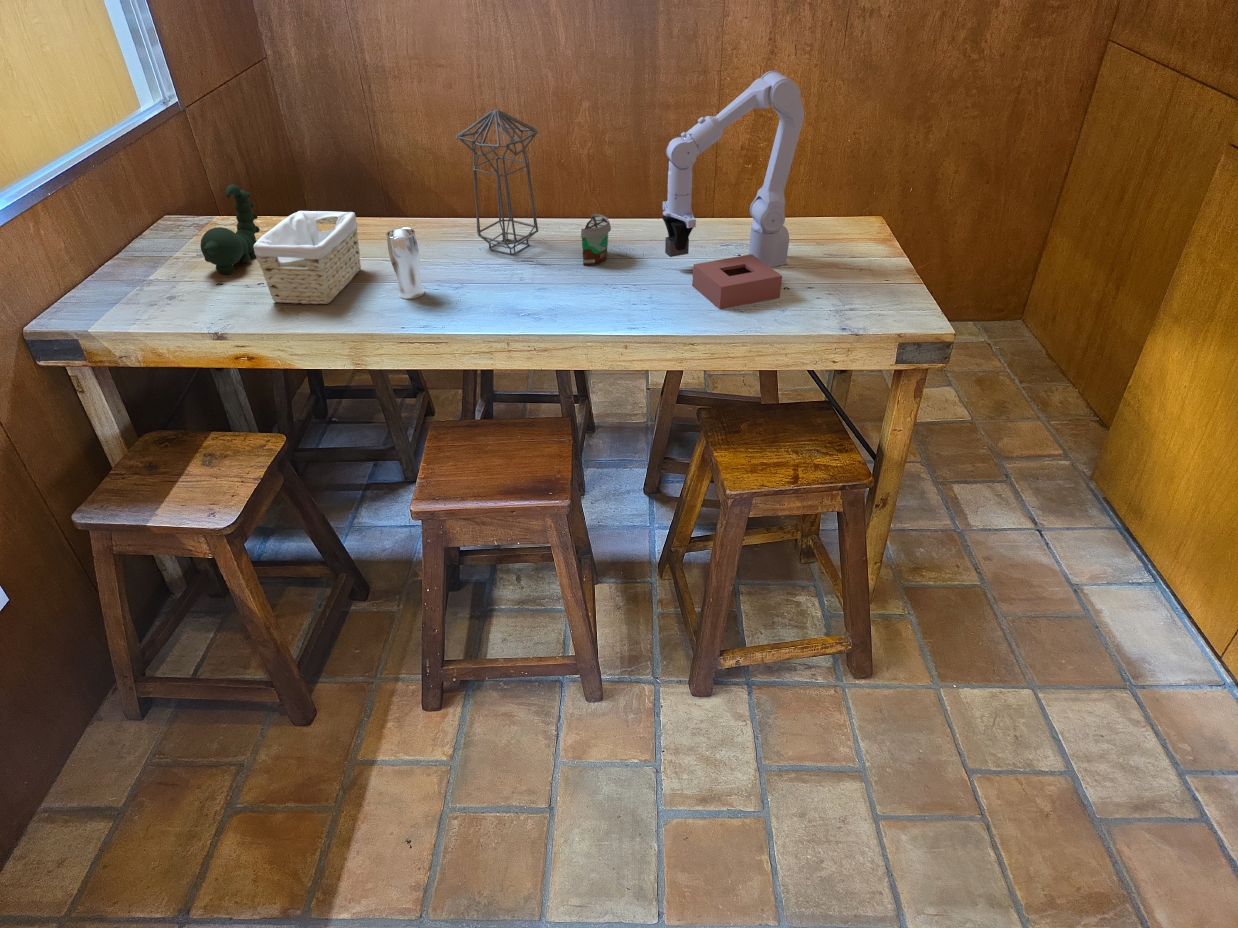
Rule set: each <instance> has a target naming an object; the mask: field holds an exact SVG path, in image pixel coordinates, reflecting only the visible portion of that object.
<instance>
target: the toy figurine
mask: <svg viewBox="0 0 1238 928" xmlns="http://www.w3.org/2000/svg"><path fill="white" fill-rule="evenodd" d="M231 195H233V199H234V200H235V202H234V209H235V210H236V214H235V218H236V220H237V223H236V231H235V232H234V231H233V230H231V229H229V228H226V227H220V226H219V227H213V228H210V229H208V230H207V231H205V233H204V234H203V235H202V237H201V239H200V244H199V245H200V250H201V251H200V252H201V253H202V255H203V257H204V260H205V262H207V263H211V264H212V265H215V270H216V271H217V272H218V273H219V274H221V275H230V274H232V273H234V271H235V266H234V265H235V264H237V263H238V262H239V261H240V262H242V263H243V264H248V263H249V262H250V261H251V259H254V257H255V258H257V256H256V255H255V252H254V247H253V246H254V244H255V243H256V242H257V241H258V240H257V239H256V235H255V234H257V233H259V232H260V227H259V226H257V225H256V224H255V222H254V221H255V220H257V219H258V215H257V213H253V212H252V209H253V208H255V204H254V202H252V201H249V198H251V196H252V195H251V193H250V192H247V191H246V190H244V189H241V188H240V186H238V185H236V184H232V183H231V184H228V185H227V186H226V188H225V196H226V198H227V199H230V198H231Z"/></svg>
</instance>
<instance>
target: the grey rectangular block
mask: <svg viewBox="0 0 1238 928" xmlns="http://www.w3.org/2000/svg"><path fill="white" fill-rule="evenodd" d="M664 240H665V241H664V243H665V245H664V246H665V247H664V252H665V254H666V255H667V256H669V258H672V257H678V256H684V255H689V250H690V249H689V247H690V245H689V244H690V238H688V241H687V244H686V247H685V249H683V250H677V249H676V243H675V236H671V237H669V236H666V237H665V239H664Z"/></svg>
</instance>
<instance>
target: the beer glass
mask: <svg viewBox="0 0 1238 928" xmlns="http://www.w3.org/2000/svg"><path fill="white" fill-rule="evenodd" d="M385 235H386V236H385V238H386V246H387V252H388V255H389V256H388V257H389V260H390V263H391V266H392V269H393V272H394V274H395V277H396V280H397V284H398V285H397V290H398V291H397V295H398V297H400V298H401V299H405V300H413V299H417V298H420V297H422V296H423V295H424V294H425V290H424V287H423V283H422V281H421V254H420V247H419V242H418V238H417V234H416V230H415V229H413V228H410V227H396V228H392V229H390V230H387V232H386V233H385Z"/></svg>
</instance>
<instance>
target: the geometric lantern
mask: <svg viewBox="0 0 1238 928" xmlns="http://www.w3.org/2000/svg"><path fill="white" fill-rule="evenodd" d="M492 124H493V125H494V124H495V132H496V141H497V142H496V143H497V144H490V143H488V142H487V141H486V140H487V138H488V136H489V131H490V130H491V127H492ZM516 124H517V125H516ZM478 125H479V126H478ZM518 125H520V126H522V128H521V127H519V126H518ZM476 126H478V127H476ZM475 127H476V129H475V130H474V131H473V132H469V131H471V130H472V129H474V128H475ZM523 127H524V128H523ZM499 128H500V130H501V134H502V137H503V138H502V139H503V142H504V143H503V144H504V145H501V141H500V133H499ZM509 130H512V134H511V133H510V131H509ZM516 130H518V131H519V132H520V134H519V133H518V132H517V131H516ZM467 132H468V133H467ZM484 132H485V133H484ZM524 132H530V133H529V134H527V135H526V136H525V137H524V138H523V135H524V134H523V133H524ZM483 133H484V135H483ZM504 133H505V134H506V136H508V138H509V141H508V143H507V142H506V138H505V134H504ZM538 133H539V131H538V129H537V128H536V127H533V126H531V125H530V124H528V123H525V122H524V121H522V120H520V119H517V118H515V117H514V116H512V115H509V114H507V113H506V112H504V111H502V110H500V109H491V110H490V111H489V112H487V113H486V114H485V115H483V116H482V117H481V118H479V119H478V120H476V121H475V122H473V124H471V125H470V126H468V127H467V128H466V129H464V130H463V131H461V132H460V133H459V134H457V135H455V139H456V140H459V141H460V142H461V143H463V145H464V146H465V147H467V148H468V149H469V150H470V151H471V152H472V153H473V158H472V159H473V162H472V163H473V168H472V173H473V186H474V197H475V198H474V199H475V212H476V215H475V216H476V234H477V236H478V237H479V238H481V240H483V241H485V242H486V243H488V250H489V251H491V252H495V253H500V254H505V255H509V256H514V255H516V254H518V253H520V252H522V251H523V250H525V249H527V248H528V247H530V242H529V239H530V238H532V236H534V235H535V234H536V233H539V226H538V225H539V224H538V220H537V214H536V208H535V200H534V196H533V188H532V187H533V186H532V178H531V168H530V164H531V163H530V161H529V158H528V155H527V152H526V148H527V147H528V146H529V145H530V143H532V140H533V139H534V138H535V137H536V136H537V134H538ZM475 135H476V136H475ZM515 135H516V136H517V138H518V139H516V138H515ZM467 136H472V139H470V138H467ZM479 138H480V141H477V140H478V139H479ZM527 140H528V141H527ZM466 141H467V142H469V143H471V146H470V145H469V144H468V143H467V142H466ZM525 141H527V142H526V144H525V145H524V142H525ZM516 144H521V147H522V148H521V149H520V150H519V151H517V147H516ZM511 145H513V148H514V150H513V149H512V148H511V147H510V146H511ZM476 146H477V147H479V148H480V151H481V153H480V152H479V153H478V152H477V150H476ZM484 147H485V148H486V147H487V148H489V150H488V151H486V152H485V153H484V150H483V148H484ZM499 148H505V149H504V152H503V153H502V156H499V155H498V154H497V153H496V150H498V149H499ZM507 151H509V152H510V153H511V154H513V155H514V156H513V158H511V157H505V155H506V154H507ZM491 153H493V154H495V156H494V157H491V158H488V155H490V154H491ZM521 153H522V155H523V159H524V160H520V159H515V158H516V156H517V155H520V154H521ZM476 156H477V158H476ZM480 157H484V158H485V160H484V161H482V162H479V158H480ZM494 159H495V166H494V165H493V163H492V162H491V161H492V160H494ZM499 160H502V168H503V174H501V173H500V172H499ZM505 160H509V161H511V162H510V164H509V166H508V169H506V162H505ZM487 162H488V164H489V165H490V167H491V168H492V169H493V171H494V173H493V172H489V171H485V170H481V169H478V166H481V165H483V164H485V163H487ZM514 162H519V163H524V164H525V165H524V166H523V165H522V167H520V168H517V169H514V170H512V171H510V170H511V167H512V165H513V163H514ZM522 169H526V175H527V176H526V177H527V181H528V187H529V193H530V200H531V201H530V202H531V210H532V218H533V224H530V223H526V222H522V221H518V220H514V215H513V208H512V201H511V194H510V188H509V187H510V186H509V180H508V176H509V175H512V174H514V173H516V172H518V171H520V170H522ZM477 172H479V173H484V174H488V175H492V176H496V186H497V187H496V188H497V205H498V206H497V207H498V220H497V221H495V222H493V223H491V224H489V225H487V226H486V227H484V228H482V229H481V225H480V224H481V223H480V222H481V221H480V212H479V199H478V198H479V197H478V175H477ZM502 177H504V185H505V187H504V188H505V194H506V203H507V204H506V205H507V214H508V219H507V218H506V219H505V216H504V215H505V213H504V204H503V194H502V186H501V185H502V184H501V178H502ZM506 222H507V225H505V223H506ZM510 223H511V226H512V232H513V233H512V232H509V226H510ZM497 224H499V225H500V228H501V231H502V232H501V233H499V234H498V235H497V236H495V237H494V238H491V237H487V236H486V235H485V236H484V235H483V234H481V233H482V232H484V231H486V230H488V229H490V228H491V227H493V226H496V225H497ZM515 224H520V225H523V226H527V227H531V230H530V231H529V232H528V233H527V235H524V234H523V235H522V234H517V233H516V228H515ZM534 229H535V230H534ZM533 230H534V231H533ZM509 235H511V236H513V238H514V239H509ZM500 236H501V237H502V240H497V239H498V238H499V237H500ZM517 237H521V238H519V239H517ZM507 241H508V242H507ZM493 242H494V243H493ZM521 244H524V245H525V246H523V247H522V248H520V249H519V250H517V251H516V248H517V247H518V246H519V245H521ZM510 245H513V246H512V247H511V246H510ZM495 246H497V247H500V248H505V249H508V250H509V252H505V251H501V250H496V249H492V248H494V247H495ZM512 250H513V253H512Z"/></svg>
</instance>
